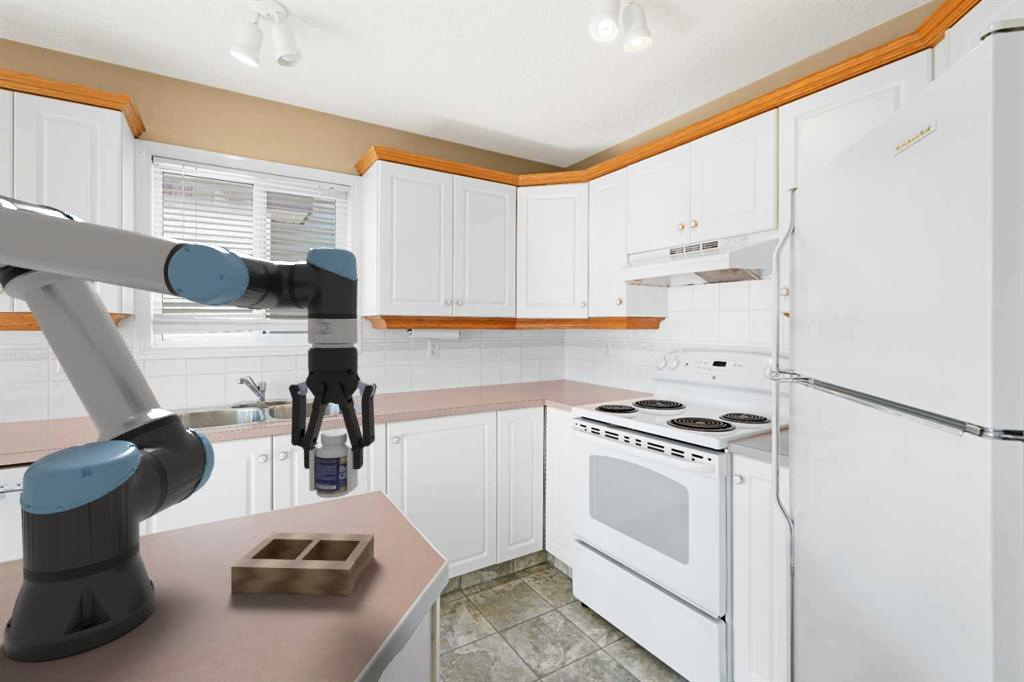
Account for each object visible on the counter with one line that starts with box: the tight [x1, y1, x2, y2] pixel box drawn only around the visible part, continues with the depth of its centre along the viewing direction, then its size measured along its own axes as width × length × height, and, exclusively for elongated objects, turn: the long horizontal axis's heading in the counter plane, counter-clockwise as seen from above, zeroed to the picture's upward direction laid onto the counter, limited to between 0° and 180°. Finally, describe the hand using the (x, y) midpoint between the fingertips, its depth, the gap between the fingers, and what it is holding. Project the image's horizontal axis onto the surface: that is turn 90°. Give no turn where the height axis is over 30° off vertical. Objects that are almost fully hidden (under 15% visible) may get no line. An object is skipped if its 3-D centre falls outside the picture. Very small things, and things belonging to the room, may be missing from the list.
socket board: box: [230, 532, 375, 597], centre depth 78 cm, size 18×12×4 cm, turn 89°
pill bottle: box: [315, 430, 352, 499], centre depth 77 cm, size 5×5×10 cm
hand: (333, 488), depth 77 cm, fingers closed on pill bottle, 5 cm apart
